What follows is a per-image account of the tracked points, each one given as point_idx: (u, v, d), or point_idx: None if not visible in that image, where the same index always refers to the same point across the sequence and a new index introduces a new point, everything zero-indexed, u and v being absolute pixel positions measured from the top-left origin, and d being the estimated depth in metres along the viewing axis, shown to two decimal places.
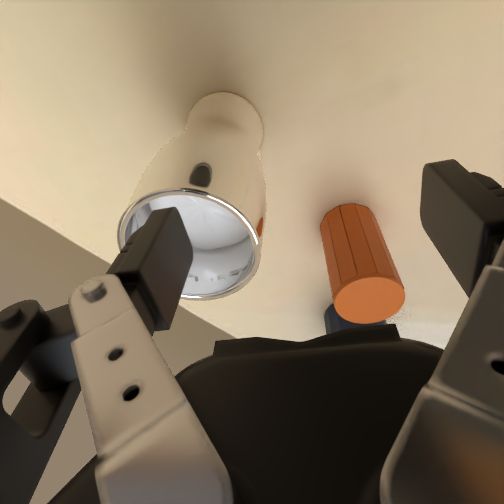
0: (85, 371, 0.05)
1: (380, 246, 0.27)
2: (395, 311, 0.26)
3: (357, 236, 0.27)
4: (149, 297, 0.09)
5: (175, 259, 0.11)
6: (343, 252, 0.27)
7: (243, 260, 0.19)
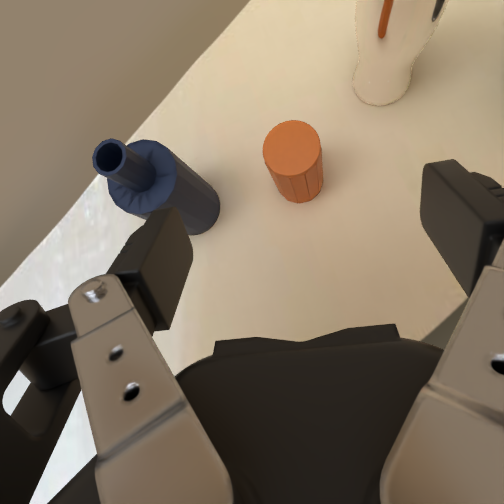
0: (85, 371, 0.05)
1: (318, 174, 0.33)
2: (279, 172, 0.30)
3: None
4: (149, 297, 0.09)
5: (175, 259, 0.11)
6: None
7: None
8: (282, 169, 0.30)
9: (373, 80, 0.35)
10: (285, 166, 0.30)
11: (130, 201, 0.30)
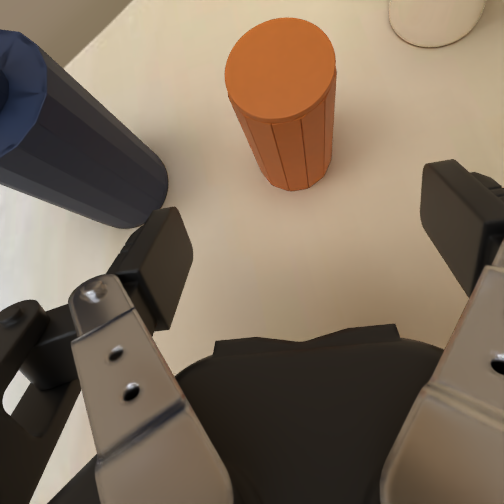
0: (85, 371, 0.05)
1: (325, 133, 0.18)
2: (252, 111, 0.15)
3: None
4: (149, 297, 0.09)
5: (175, 259, 0.11)
6: None
7: None
8: (258, 106, 0.15)
9: None
10: (264, 101, 0.15)
11: None
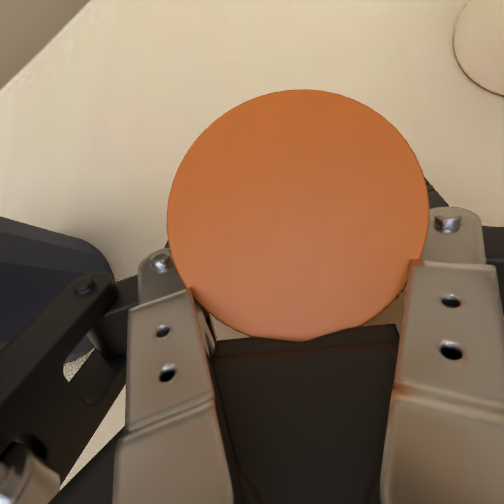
0: (134, 341, 0.06)
1: None
2: (228, 316, 0.06)
3: None
4: None
5: None
6: None
7: None
8: (241, 305, 0.06)
9: None
10: (256, 293, 0.06)
11: None
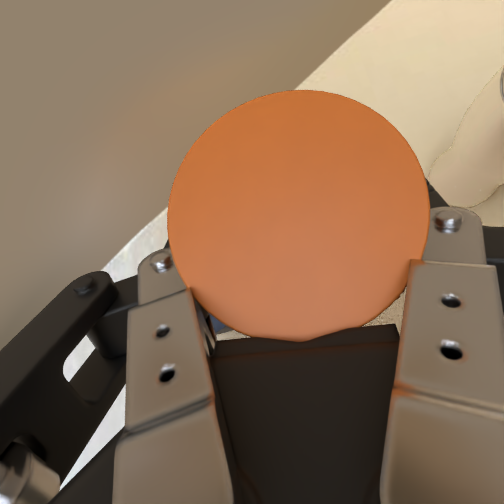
0: (133, 341, 0.06)
1: None
2: (228, 317, 0.06)
3: None
4: None
5: None
6: None
7: None
8: (241, 306, 0.06)
9: (462, 187, 0.30)
10: (256, 294, 0.06)
11: None
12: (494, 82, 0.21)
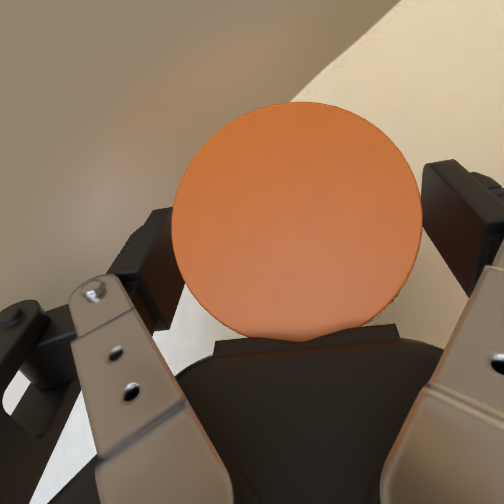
0: (85, 371, 0.05)
1: None
2: (230, 319, 0.07)
3: None
4: (149, 297, 0.09)
5: (175, 259, 0.11)
6: None
7: None
8: (242, 309, 0.07)
9: None
10: (257, 297, 0.07)
11: None
12: None
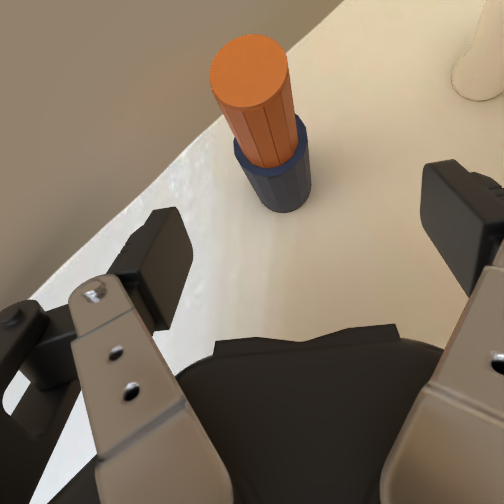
0: (85, 371, 0.05)
1: (287, 119, 0.24)
2: (229, 101, 0.21)
3: None
4: (149, 297, 0.09)
5: (175, 259, 0.11)
6: None
7: None
8: (233, 98, 0.21)
9: (482, 74, 0.36)
10: (237, 94, 0.21)
11: None
12: None
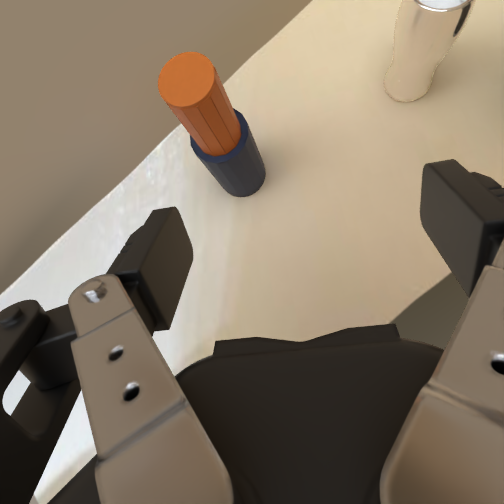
0: (85, 371, 0.05)
1: (222, 116, 0.32)
2: (171, 102, 0.28)
3: (229, 105, 0.33)
4: (149, 297, 0.09)
5: (175, 259, 0.11)
6: None
7: (412, 22, 0.35)
8: (174, 100, 0.28)
9: (403, 79, 0.43)
10: (177, 97, 0.28)
11: None
12: None
